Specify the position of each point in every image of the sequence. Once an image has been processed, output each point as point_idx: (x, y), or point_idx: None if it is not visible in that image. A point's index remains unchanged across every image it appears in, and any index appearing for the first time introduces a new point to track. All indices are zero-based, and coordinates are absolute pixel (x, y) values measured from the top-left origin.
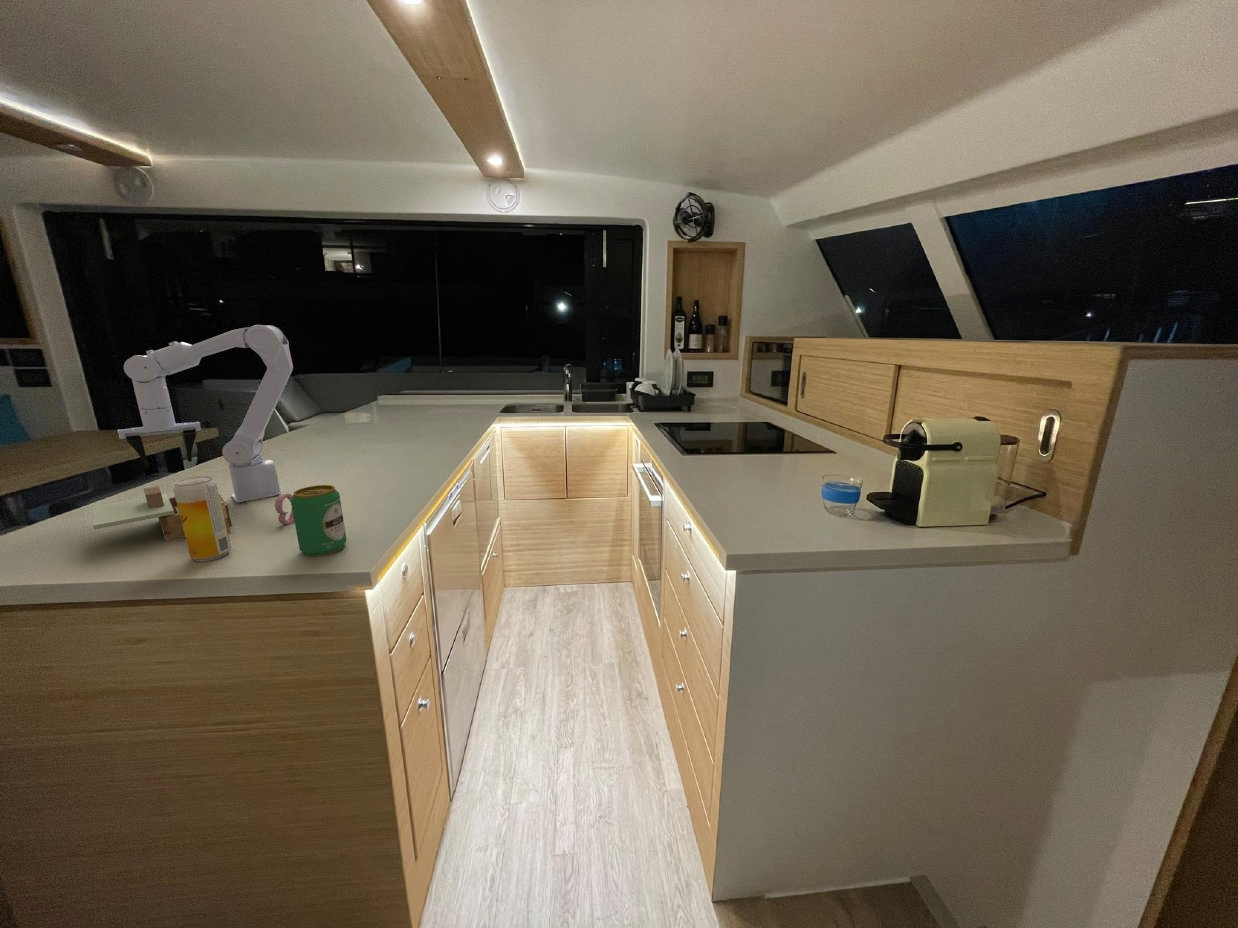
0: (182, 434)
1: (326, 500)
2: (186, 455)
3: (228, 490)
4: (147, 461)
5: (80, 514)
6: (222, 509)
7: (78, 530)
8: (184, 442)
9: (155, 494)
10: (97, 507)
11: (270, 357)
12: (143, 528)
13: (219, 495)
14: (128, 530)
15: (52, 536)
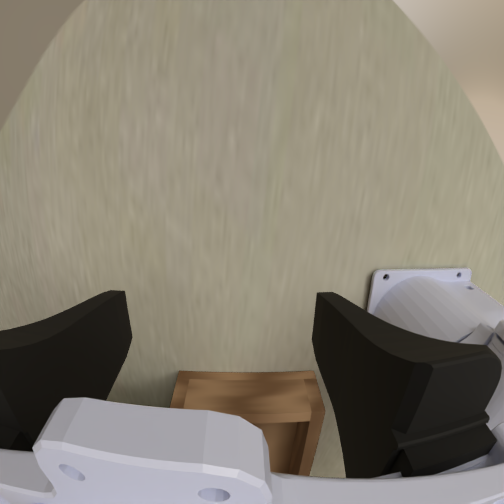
0: (386, 432)
1: None
2: (324, 322)
3: (387, 169)
4: (119, 363)
5: (13, 145)
6: None
7: (36, 310)
8: (357, 389)
9: None
10: None
11: None
12: (153, 400)
13: (311, 461)
14: (128, 391)
15: (9, 314)
